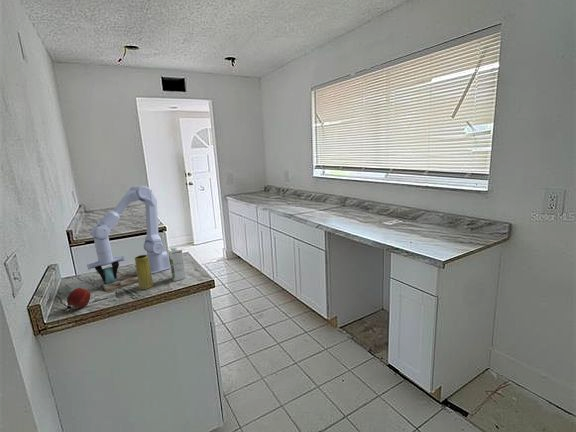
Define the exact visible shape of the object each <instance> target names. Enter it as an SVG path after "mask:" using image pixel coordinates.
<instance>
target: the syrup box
mask: <svg viewBox="0 0 576 432" xmlns="http://www.w3.org/2000/svg"><path fill="white" fill-rule="evenodd" d="M167 251H168V252H167V254H168V258H169V264H170V274H171V279H172V281H173V282H177V281H181V280H185V279H187V276H186V269H185V262H184V261H185V260H184V255H183V249H182V248H181V246H177V247H172V248H168V249H167Z"/></svg>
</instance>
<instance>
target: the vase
mask: <svg viewBox="0 0 576 432" xmlns="http://www.w3.org/2000/svg"><path fill="white" fill-rule="evenodd" d="M134 261H135V267H136V272H137V276H138V282H137V283H138V288H139V290H147V289H150V288H152V287H154V280H153V277H152V273H151V271H150V266H149V261H148V256H147V254H141V255H137V256H134Z"/></svg>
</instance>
